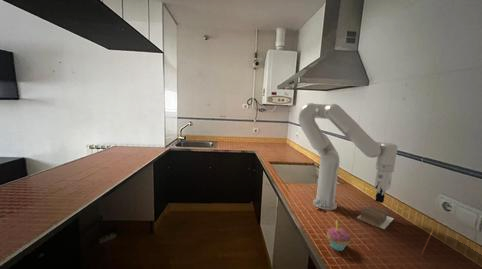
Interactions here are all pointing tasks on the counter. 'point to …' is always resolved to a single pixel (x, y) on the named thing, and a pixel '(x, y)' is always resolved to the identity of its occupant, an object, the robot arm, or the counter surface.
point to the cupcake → (338, 238)
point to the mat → (384, 222)
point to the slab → (373, 216)
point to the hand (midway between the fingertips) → (379, 201)
